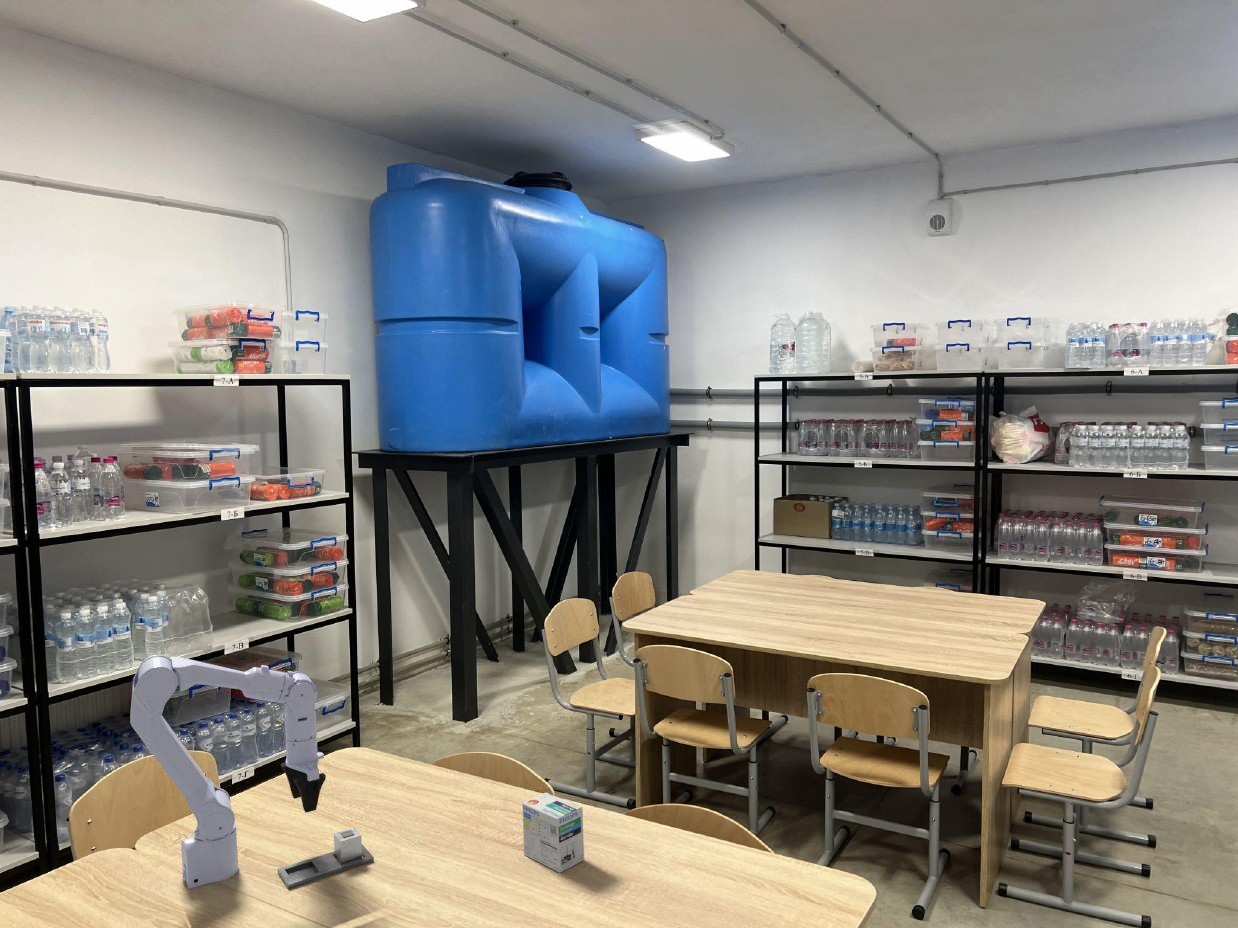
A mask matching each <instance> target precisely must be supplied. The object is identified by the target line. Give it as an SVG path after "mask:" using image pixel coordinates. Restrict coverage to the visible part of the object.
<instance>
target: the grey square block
mask: <svg viewBox="0 0 1238 928" xmlns="http://www.w3.org/2000/svg"><path fill="white" fill-rule="evenodd" d="M362 843H363V841H362V834H361V833H360V832H359V831H358V830H357V829H356V827H351V828H348V829H344V830H340V831H337V832H335V833H333V844H334V845H333V846H334V847H333V848H334V849H333V850H334V851H335V858H336V860H337V861H338V862H339V863H340V865H343V864H346V863H349V862H352V861H355V860H358V859H361V858H362V845H363V844H362Z"/></svg>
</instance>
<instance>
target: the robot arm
mask: <svg viewBox="0 0 1238 928" xmlns="http://www.w3.org/2000/svg"><path fill="white" fill-rule="evenodd" d="M269 667H270V666H268V665H265V664H264V665H263V664H262V665H260V667H258V666H257V667H256V666H253V667H251V668H250V669H248V670H246V671H242V670H238V669H233V668H229V667H225V666H220V665H217V664H212V663H207V662H203V661H199V660H194V659H190V658H186V657H181V656H171V658H170V657H169V656H167V655H164V654H154V655H151V656H149V657H147V658H145V659H144V660H143V661H141V663H140V664H139V666H138V668H137V670H136V672H135V675H134V676H133V678H132V691H131V692H132V693H131V700H130V701H131V703H130V712H129V713H130V715H129V717H130V720H129V723H130V725H131V728H133V730H134V732H135V733H136V734H137V735H138V736H139V738H140V740H141V741H142V742H143V743H144V745H145V746H146V748H147V749H148V750H149V752H150V753H151V754H152V755H153V757H154V758H155V760H156V761H157V762H158V763H159V765H160V766H161V768H162V769H163V770H164V772H165V773H166V774H167V776H168V778H170V780H171V782H173V784H174V785H175V787H176V788H177V790H178V791H179V792H180V794H181V795H182V796H183V797H184V799H185V801H186V802H187V805H188V807H189V809H190V811H191V813H192V814H193V816H194V817H195V820H196V822H197V823H196V824H197V826H196V829H194V832H193V834H192V835H191V836H188V837H187V838H184V839H182V840H181V844H180V845H181V864H182V879H183V881H185V883H186V885H187V888H188V889H192V888H196V887H200V886H202V885H203V886H204V885H205V884H206V885H207V884H210V883H211V884H213V883H216V882H221V881H224V880H226V879H229V878H232V876H234V875H235V874H236V873H238V871H239V855H238V853H239V852H238V838H237V836H238V835H237V824H236V822H235V820H236V817H235V813H234V811H233V807H232V804H231V801H232V800H231V797H230V795H229V793H228V792H227V790H225V789H223V788H220V787H218V786H217V785H216V784H215V783H214V782H213V781H212V779H210V778H208V776H207V775H206V774H205V773H204V772H203V770H202V769H201V767H200V766H199V765H198V764H197V762H196V761H195V759H194V757H192V755H191V753H190V752H189V751H188V749H187V748H186V746H185V745H184V744H183V743H182V741H181V740H180V738H179V737H178V736H177V734H176V733H175V731H174V730H173V728H172V727H171V726H170V724H169V723H168V722H167V720H166V719H165V718H164V716H163V711H164V709H165V705H166V703H168V701H169V699H170V698H171V697H172V696H173V694H174V693H175V691H177V688H178V686H179V692H184V691H186V690H188V689H190V688H191V687H193V686H194V685H203V686H211V687H212V686H213V687H219V688H226V689H227V688H228V689H235V690H240V691H241V692H242V694H243V696H244V697H245V698H249V699H253V700H254V699H255V700H259V701H266V702H269V703H270V702H271V703H276V704H280V703H284V706H285V707H284V710H285V714H284V730H285V733H284V734H285V749H286V758H285V761H284V762H281V764H280V766H281V768H282V770H283V772H284V773H285V776H286V779H287V781H288V782H287V783H288V785H289V789H290V793H291V796H292V798H293V799H294V800H295V799H299V798H300V799H301V804H302V809H303V811H304V813H305V814H308V813H310V812H311V813H312V812H314V811H317V808H318V805H319V804H318V803H319V797H320V794H321V790H322V787H323V784H324V783H325V781H326V779H327V778H326V777H327V775H326V774H325V773H324V772H321V773H320V768H319V762H320V761H319V760H321V759H324V758H325V754H324V753H323V752H321V751H318V735H317V716H316V715H317V713H316V709H315V707H316V706H315V705H316V704H315V702H316V701H317V699H318V694H319V693H318V691H317V687H316V685H315V684H314V683H313V681H312V679H311V678H310V677H309V676H308V675H306V674H305V673H303V672H301V671H299V670H298V671H291V670H287V672H283V671H279V670H273V669H270V668H269ZM195 880H196V881H195Z"/></svg>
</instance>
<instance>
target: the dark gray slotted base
mask: <svg viewBox="0 0 1238 928" xmlns="http://www.w3.org/2000/svg"><path fill="white" fill-rule="evenodd" d="M374 861H375V858H374V856H373V855H372V853H371V852H370V851H369V850H368V849H367V848H366V846H364V845H363V844H362V858H361V859H358V860H355V861H352V862H349V863H346V864H343V865H340V863H339V862H338V861H337V860H336V858H335V850H334V851H330V852H327V853H325V854H322V855H318V856H315V857H312V858H309V859H304V860H301V861H299V862H296V863H293V864H289V865H286V866H282V867H279V868H277V874H278V876H279V877H280V879H281V880H282V882H283V884H284V885H285V887H286V888H287V890H290V889H294V888H297V887H300V886H303V885H307V884H310V883H312V882H316V881H319V880H322V879H324V878H328V877H331V876H334V875H337V874H340V873H343V872H346V871H348V870H352V869H356V868H358V867H361V866H364V865H367V864H371V863H373V862H374Z"/></svg>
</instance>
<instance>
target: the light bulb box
mask: <svg viewBox="0 0 1238 928" xmlns="http://www.w3.org/2000/svg"><path fill="white" fill-rule="evenodd" d="M521 803H522V826H523V827H522V828H523V829H522V830H523V831H522V832H523V854H524V855H523V856H525V857H528V858H530V859H532V860H534V861H536V862H538V863H540V864H542V865H544V866H546V867H548V868H550V869H551V870H553V871H556V872H558V873H559V874H560V873H563V872H565V871H566V870H568V869H570V868H571V867H574V866H575V865H577V864H579V863H581V862H583V861H585V847H584V846H585V843H584V842H585V841H584V818H583V817H584V814H583V807H582V806H580V805H578V804H575V803H572V802H570V801H568V800H565V799H562V798H561V797H558V796H555V795H553V794H551V793H549V792H544V793H542V794H539V795H537V796H535V797H532V798H530V799H527V800H525V801H523V802H521Z"/></svg>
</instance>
